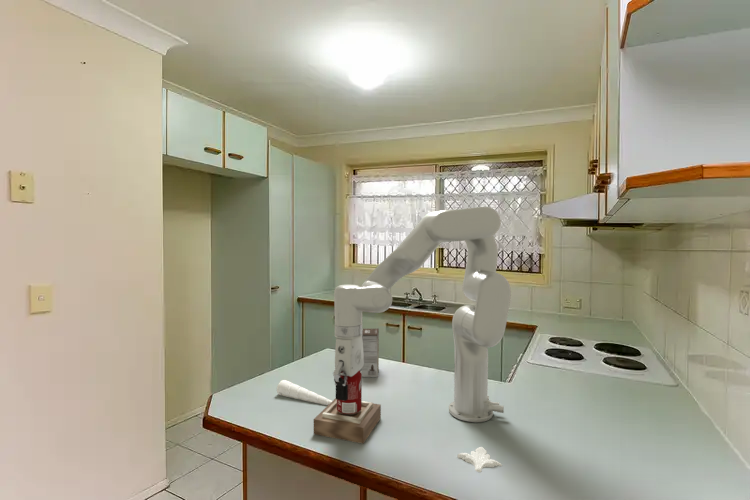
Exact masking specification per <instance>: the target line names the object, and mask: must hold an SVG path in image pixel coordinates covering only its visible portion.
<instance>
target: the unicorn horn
mask: <svg viewBox="0 0 750 500" xmlns="http://www.w3.org/2000/svg"><path fill="white" fill-rule="evenodd" d="M276 392H277V395H279V396H281V397H287V398H290V399H291V398H292V399H295V400H301V401H305V402H309V403H315V404H320V405H325V406H328V405H329V404H330V403H331V402H332V401H333V400H332V399H329V398H327V397H325V396H323V395H320V394H318V393H316V392H314V391H311V390H309V389H307V388H305V387H303V386H301V385H298V384H296V383H293V382H291V381H289V380H286V379H282V380H280V381H279V383H278V384H277V387H276Z"/></svg>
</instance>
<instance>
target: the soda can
mask: <svg viewBox="0 0 750 500" xmlns="http://www.w3.org/2000/svg"><path fill="white" fill-rule="evenodd" d="M341 373H346V372H341ZM340 378H342V379H343V380H344V377H343V376H340ZM362 378H363V377H362V374H361V372H360V371H359V369H358V372H357V373H356V374H355V375H353V376H352V377H350V376H348V379H347V383H346V385H348V399H347V401H344V400H337V411H338V412H339V413H341V414H342V415H346V416H351V415H355V414H357V413H359V412H360V411H361V403H362V401H363V400H362V399H363V398H362V385H363V383H362V381H363V380H362Z"/></svg>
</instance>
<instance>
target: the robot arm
mask: <svg viewBox="0 0 750 500" xmlns="http://www.w3.org/2000/svg"><path fill="white" fill-rule="evenodd" d="M501 221H502V219H501V216H500V215H499V213H498V212H497V210H495V209H494V208H492V207H490V206H479V207H469V208H459V209H458V208H457V209H443V210H442V209H441V210H438V211H431V212H428V213H426V215H424V216H423V217H422V218H421V219H420V221H419V222H418V223H417V224H416V225H415V226H414V228H413V229H412V230H411V231H410V232H409V234H408V235H407V236H406V237H405V238H404V240H403V241H402V242H401V243H400V244H399V245H398V246H397V247H396V249H395V250H393V251H392V252H391V253H390V254H389V255H388V256H386V258H385V259H383V261H382V262H380V263H379V264H378V265H377V266H376V268H375V269H374V270H373V271H372V272H371V273H370V274H369V275H368V276H367V278H366V279H365V280H364V282H363V283H362V284H361V286H360V285H358V284H340V285H338V286H336V287H335V288H334V292H333V293H334V295H333V296H334V337H335V351H334V371H333V373H332V375H333V382H334V385H335V398H336V399H337V400H344V401H347V399H348V385H346V383H347V379H348V376H350V377H352V376H353V375H355V374H356V373H357V372H358V369H359V371H360V372H361V370H362V367H363V365H364V354H363V340H362V330H363V312H365V313H374V314H379V313H384V312H385V311H387V310H389V308H390V307H391V306H392V303H393V294H392V292H391V291H390V290H391V288H392V287H393V286H394V285H395V284H396V283H397V282H398V281H400V279H402V278H403V277H406V276H407V275H409V274H412V273H415V272H416V271H417V270H419V269H420V268H422V267H423V265H424V264H425V262H426V261H427V260H428V259H429V258H430V257H431V255H432V254H434V252H435V251H436V249H437V248H438V247H439V246H440V245H441V243H443V242H444V243H451V242H462V241H463V242H465V244H466V247H467V248H466V249H467V259H466V264H465V270H464V277H463V281H462V292H463V294H464V297H465V298H467V299H468V300H470V301H472V302H475V305H471V304H468V305H466V304H465V305H463V306H462V305H461V306H460V307H459V308H457V309H456V311H455V312H454V314H453V316H452V321H451V326H452V334H453V342H454V344H453V345H454V375H453V377H454V379H453V381H454V384H453V385H454V388H453V389H454V394H453V396H454V399H453V401H452V402H451V403H450V404H449V405H448V412H449V414H450V415H451V416H452V417H454V418H455V419H458V420H460V421H464V422H469V423H483V422H487V421H490V420H491V419H492V418H493V414H494V412H497V413H502V414H504V412H505V411H504V406H505V405H501V404H500V402H499V401H497V402H496V401H492V400H490V396H489V394H488V393H489V392H488V390H489V389H488V386H489V385H488V384H489V382H488V381H489V380H488V379H489V377H488V376H489V373H488V372H489V367H488V366H489V350H488V348H492V347H495V346H496V345H498V344H499V343H500V342H501V340H502V339H503V337H504V334H505V332H506V327H507V321H508V316H509V311H510V304H511V296H512V290H511V286H510V283H509V281H508V279H507V278H506V277H505V276H504V275H503V274H501V273H498V272H497V265H498V258H499V257H498V256H499V251H498V245H497V241H496V238H495V236H494V235H495V234H497V233H498V231H499V229H500V227H501ZM341 372H346V373H341ZM340 376H343V377H344V380H343V379H342V378H340Z"/></svg>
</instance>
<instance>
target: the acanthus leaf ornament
mask: <svg viewBox="0 0 750 500" xmlns="http://www.w3.org/2000/svg"><path fill="white" fill-rule="evenodd" d="M456 458H458V459H461V460H463V461H465V462H466V463H469V464H471V465H473V466H474V471H476V473H482V469H484V468H487V467H488V468H494V467H497V466H499V467H502V466H503V464H502V463H501V462H499V461H497V460H495V459H492V458H491V454H489V453H488V450H486V449H485V448H484V447H483V446H480V447H477V448H476V449H475V450H472V451H470V453H468V452H461V453H458V454H457V457H456Z"/></svg>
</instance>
